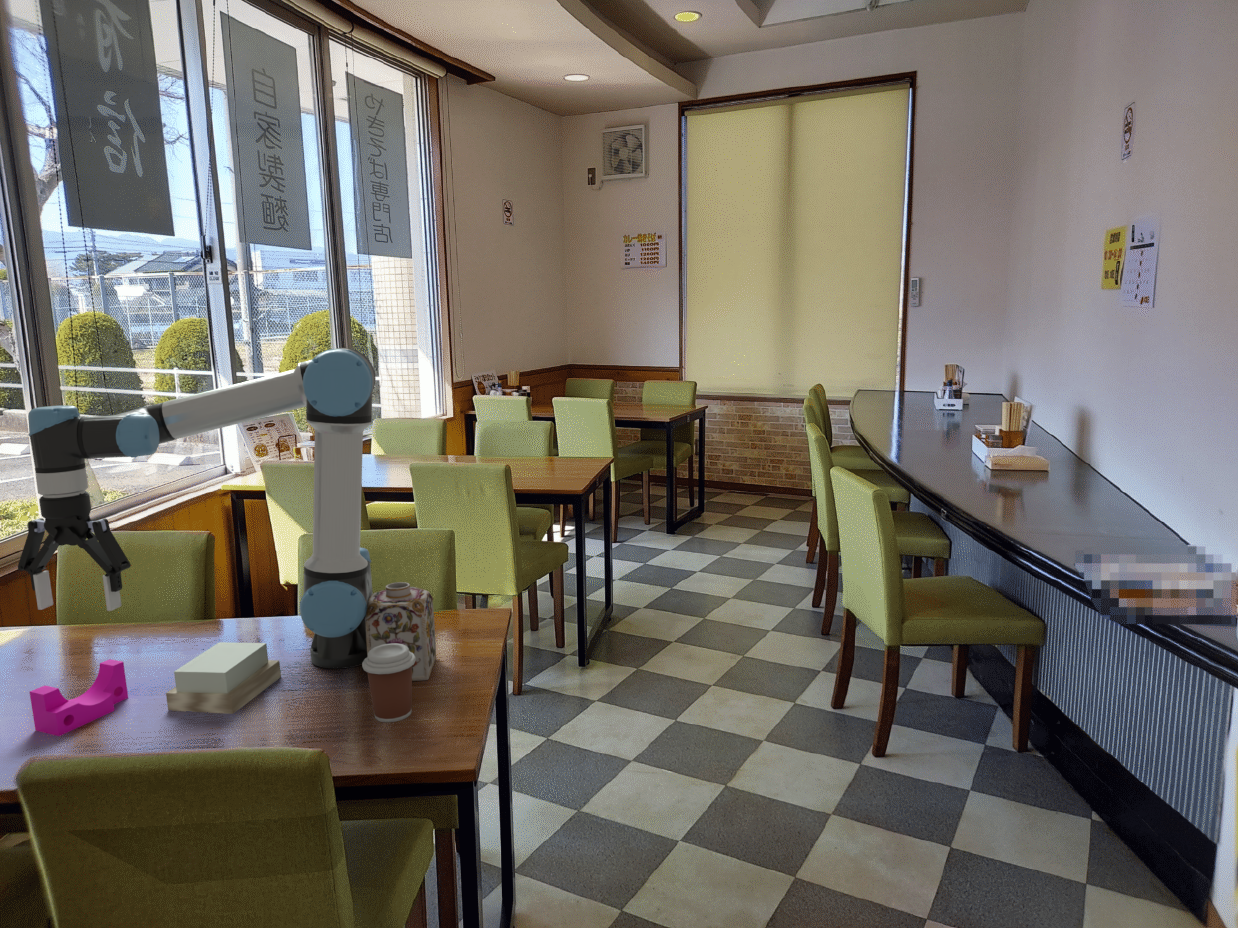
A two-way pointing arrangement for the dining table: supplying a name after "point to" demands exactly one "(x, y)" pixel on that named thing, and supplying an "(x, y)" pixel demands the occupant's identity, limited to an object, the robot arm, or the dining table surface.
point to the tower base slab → (226, 700)
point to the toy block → (79, 701)
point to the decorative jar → (403, 624)
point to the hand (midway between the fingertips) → (79, 607)
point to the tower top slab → (221, 667)
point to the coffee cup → (390, 681)
